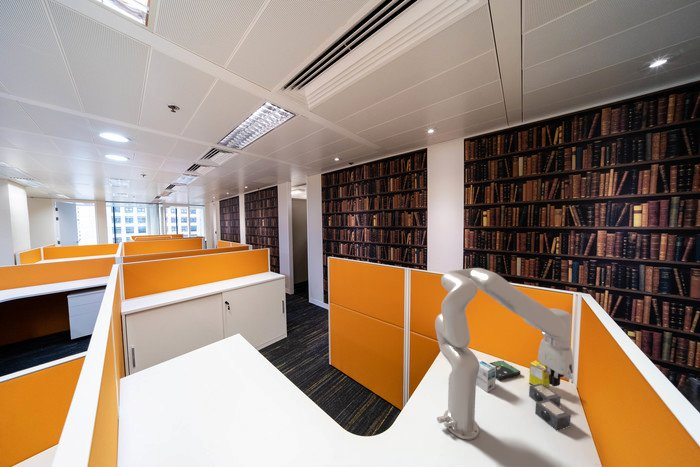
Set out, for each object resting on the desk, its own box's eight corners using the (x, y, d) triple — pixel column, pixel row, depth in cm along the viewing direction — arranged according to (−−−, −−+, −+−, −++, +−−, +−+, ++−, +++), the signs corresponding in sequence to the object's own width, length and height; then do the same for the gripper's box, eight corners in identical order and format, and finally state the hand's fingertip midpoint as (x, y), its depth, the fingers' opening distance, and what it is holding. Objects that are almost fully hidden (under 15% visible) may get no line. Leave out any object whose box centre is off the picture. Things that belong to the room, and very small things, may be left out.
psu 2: (556, 431, 87) (556, 418, 87) (534, 413, 95) (535, 402, 95) (569, 426, 89) (570, 414, 89) (547, 410, 97) (548, 398, 97)
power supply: (547, 410, 97) (547, 398, 96) (528, 396, 105) (529, 385, 104) (559, 407, 99) (560, 395, 98) (540, 393, 106) (541, 382, 106)
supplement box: (549, 387, 110) (550, 366, 109) (543, 392, 107) (544, 369, 107) (535, 380, 115) (536, 359, 115) (528, 383, 113) (529, 362, 112)
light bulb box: (495, 388, 110) (496, 366, 109) (487, 393, 107) (488, 371, 106) (474, 374, 119) (475, 355, 119) (466, 378, 116) (467, 358, 115)
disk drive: (499, 382, 114) (520, 376, 119) (499, 377, 114) (520, 371, 119) (481, 369, 124) (502, 364, 129) (481, 364, 124) (502, 359, 129)
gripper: (530, 332, 96) (528, 374, 98) (572, 352, 82) (569, 400, 83) (543, 330, 98) (541, 371, 99) (587, 349, 84) (583, 397, 85)
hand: (554, 384), depth 91 cm, fingers closed
